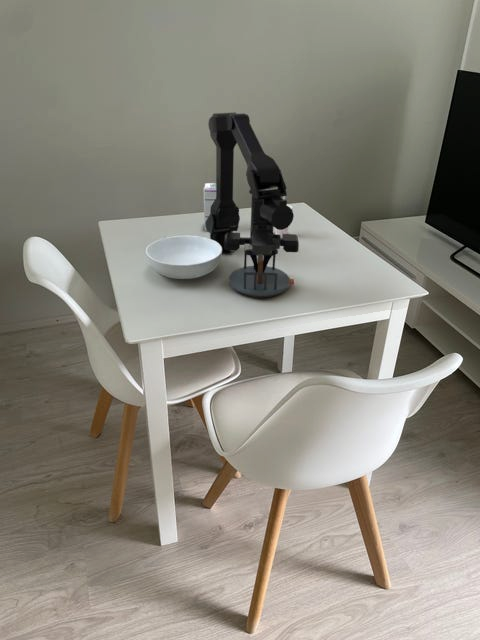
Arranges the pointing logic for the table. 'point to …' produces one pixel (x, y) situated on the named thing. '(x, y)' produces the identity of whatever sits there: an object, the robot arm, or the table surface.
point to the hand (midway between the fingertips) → (259, 272)
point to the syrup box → (208, 199)
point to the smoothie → (284, 231)
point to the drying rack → (260, 279)
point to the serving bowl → (184, 256)
